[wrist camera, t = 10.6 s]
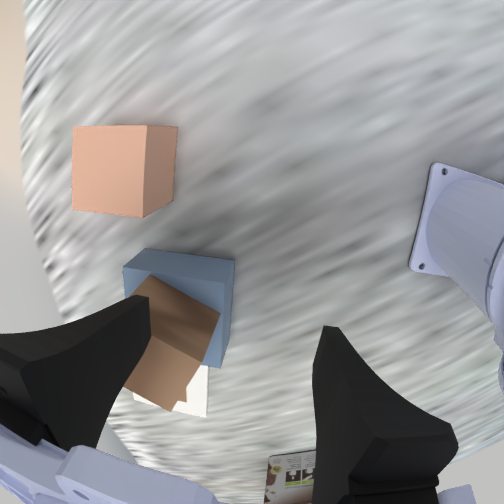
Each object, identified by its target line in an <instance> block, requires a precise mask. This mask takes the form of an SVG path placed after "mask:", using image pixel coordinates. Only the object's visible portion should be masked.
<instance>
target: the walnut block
mask: <svg viewBox="0 0 504 504" xmlns="http://www.w3.org/2000/svg"><path fill="white" fill-rule="evenodd" d="M133 295H141V296H146V297H149V308H150V324H151V339H150V341H149V343H148V346H147V348H146V350H145V352H144V354H143V356H142V358H141V359H140V361H139V362H138V364H137V365H136V367H135V369H134V370H133V372H132V373H131V375H130V376H129V378H128V379H127V381H126V383H125V384H124V386H123V387H125V388H127V389H129V390H130V391H132V392H134V393H136V394H137V395H139V396H141V397H143V398H145V399H147V400H148V401H150V402H152V403H154V404H156V405H158V406H160V407H162V408H164V409H166V410H168V411H170V412H171V410H172V409H173V407H174V406H175V404H176V403H177V401H178V400H179V398H180V397H181V395H182V393H183V392H184V390H185V389H186V387H187V386H188V384H189V382H190V381H191V379H192V378H193V376H194V375H195V373H196V372H197V370H198V368H199V367H200V365H201V364H202V362H203V359H204V356H205V354H206V351H207V349H208V346H209V343H210V341H211V338H212V335H213V333H214V330H215V328H216V325H217V322H218V320H219V317H220V314H221V313H219V312H217V311H215V310H214V309H212V308H210V307H208V306H206V305H204V304H202V303H201V302H199V301H197V300H195V299H193V298H192V297H190V296H188V295H186V294H184V293H183V292H181V291H179V290H177V289H175V288H174V287H172V286H170V285H168V284H167V283H165V282H163V281H161V280H160V279H158V278H156V277H155V276H153V275H151V274H150V275H149V276H148V277H147V278H146V279H145V280H144V281H143V282H142V283H141V284H140V285H139V286H138V287H137V289H136V290H135V291H134V292H133V293H132V294H131V295H130V296H129V297H131V296H133Z"/></svg>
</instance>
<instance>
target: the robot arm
mask: <svg viewBox="0 0 504 504" xmlns="http://www.w3.org/2000/svg"><path fill="white" fill-rule="evenodd" d="M443 168H444V169H445V174H444V175H443V174H442V169H443ZM421 263H423V266H422V267H421V268H419V265H420V264H421ZM409 268H410V269H411V270H412V271H414V272H420V273H426V274H433V275H439V276H446V277H450V278H451V279H452V280H453V281H454V282H455V283H456V284H457V285H458V286H459V287H460V288H461V289H462V290H463V291H464V292H465V293H466V294H467V295H468V296H469V297H470V299H471V300H472V301H473V302H474V303H475V304H476V305H477V306H478V307H479V308H480V310H481V311H482V312H483V313H484V314H485V315H486V316H487V318H488V319H489V320H490V321H491V322H492V323H493V325H494V327H495V337H494V341H495V342H496V343H497V345H498V346H499V347H500V349H501V350H502V351H503V352H504V185H503V184H501V183H498V182H496V181H493V180H490V179H487V178H484V177H482V176H479V175H476V174H473V173H470V172H467V171H464V170H461V169H458V168H455V167H451V166H448V165H445V164H441V163H433V164H432V166H431V170H430V175H429V181H428V186H427V191H426V196H425V201H424V206H423V210H422V215H421V219H420V223H419V227H418V231H417V235H416V239H415V243H414V247H413V250H412V254H411V258H410V261H409ZM150 339H151V324H150V308H149V297H146V296H141V295H133V296H131V297H128V298H126V299H124V300H122V301H120V302H117V303H115V304H113V305H111V306H109V307H107V308H105V309H103V310H101V311H98V312H96V313H94V314H91V315H89V316H86V317H84V318H82V319H79V320H76V321H73V322H71V323H67V324H64V325H61V326H57V327H53V328H48V329H44V330H39V331H33V332H25V333H14V334H0V485H1V486H3V487H4V488H5V489H7V490H8V491H9V492H10V493H12V494H13V495H14V496H16V497H17V498H18V499H20V500H21V501H22V502H24V503H25V504H228V503H223V502H218V500H217V499H216V497H215V496H214V494H213V493H212V492H211V491H210V490H208V489H206V488H205V487H203V486H201V485H200V484H198V483H196V482H193V481H190V480H187V479H184V478H181V477H178V476H175V475H171V474H167V473H164V472H160V471H157V470H153V469H150V468H147V467H144V466H141V465H138V464H134V463H132V462H129V461H126V460H123V459H120V458H118V457H115V456H112V455H110V454H107V453H105V452H102V451H100V450H97V449H96V446H97V443H98V440H99V438H100V435H101V432H102V429H103V427H104V425H105V422H106V420H107V417H108V415H109V413H110V410H111V408H112V406H113V404H114V402H115V399H116V397H117V396H118V394H119V392H120V390H121V389H122V387H123V386H124V384H125V383H126V381H127V379H128V378H129V376H130V375H131V373H132V372H133V370H134V369H135V367H136V365H137V364H138V362H139V361H140V359H141V358H142V356H143V354H144V352H145V350H146V348H147V346H148V343H149V341H150ZM498 378H499V383H500V387H501V389H502V392H503V393H504V354H503V356H502V359H501V362H500V365H499V370H498ZM312 389H313V399H314V410H315V420H316V436H317V439H316V460H315V473H314V484H313V493H312V501H311V504H476V502H475V498H474V495H473V491H472V488H471V485H469V484H468V485H464V486H460V487H456V488H451V489H447V490H444V491H442V492H440V493H438V494H437V493H436V488H435V487H436V486H438V485H439V479H438V476H437V475H438V474H439V473H440V472H441V471H442V470H443V469H444V468H445V467H446V466H447V465H448V464H449V463H450V461H451V460H452V459H453V458H454V456H455V455H456V453H457V451H458V448H459V447H458V442H457V439H456V436H455V434H454V431H453V429H452V426H451V424H450V423H448V422H445V421H443V420H441V419H439V418H437V417H435V416H432V415H430V414H429V413H427V412H425V411H423V410H422V409H420V408H418V407H416V406H415V405H413V404H412V403H410V402H409V401H407V400H406V399H405V398H403V397H402V396H401V395H399V394H398V393H396V392H395V391H394V390H393V389H392V388H390V387H389V386H388V385H387V384H386V383H385V382H384V381H383V380H382V379H380V378H379V377H378V376H377V375H376V374H375V372H374V371H373V370H372V369H371V368H370V367H369V366H368V365H367V364H366V363H365V361H364V360H363V359H362V358H361V357H360V355H359V354H358V353H357V351H356V350H355V349H354V348H353V346H352V345H351V344H350V342H349V341H348V340H347V338H346V337H345V335H344V334H343V333H342V331H341V330H340V329H339V327H332V326H323V330H322V334H321V338H320V341H319V345H318V348H317V352H316V355H315V359H314V362H313V373H312Z"/></svg>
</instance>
